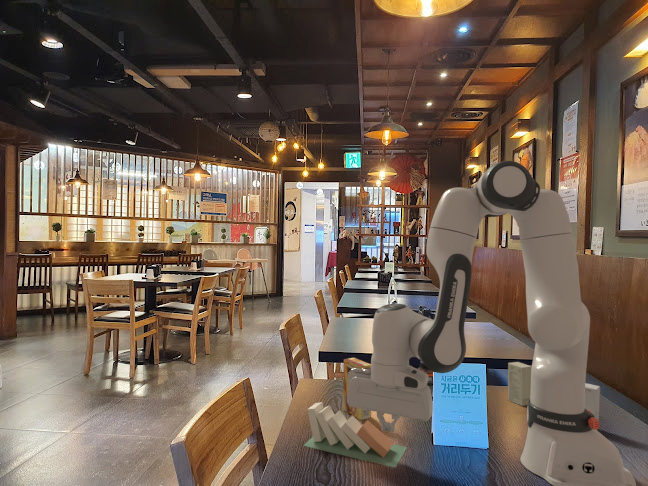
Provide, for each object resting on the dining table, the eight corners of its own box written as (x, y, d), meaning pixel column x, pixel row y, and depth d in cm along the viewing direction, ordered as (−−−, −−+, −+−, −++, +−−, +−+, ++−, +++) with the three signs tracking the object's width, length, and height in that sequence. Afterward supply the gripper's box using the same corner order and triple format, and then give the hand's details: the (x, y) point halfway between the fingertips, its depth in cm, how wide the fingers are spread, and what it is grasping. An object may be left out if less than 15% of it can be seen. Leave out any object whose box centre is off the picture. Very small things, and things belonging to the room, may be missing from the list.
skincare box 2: (570, 426, 127) (572, 384, 127) (574, 422, 130) (576, 380, 130) (595, 433, 123) (596, 389, 123) (599, 428, 126) (600, 386, 126)
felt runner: (407, 448, 111) (407, 447, 111) (395, 468, 101) (395, 467, 101) (321, 429, 121) (321, 428, 121) (303, 446, 111) (303, 445, 111)
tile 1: (393, 442, 110) (367, 420, 112) (388, 451, 105) (360, 427, 108) (389, 449, 110) (363, 426, 113) (383, 457, 105) (356, 433, 108)
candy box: (371, 418, 130) (373, 364, 129) (360, 421, 127) (361, 366, 127) (353, 407, 137) (354, 357, 137) (341, 410, 135) (343, 358, 134)
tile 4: (344, 434, 115) (329, 405, 116) (336, 442, 110) (321, 411, 112) (338, 437, 115) (323, 408, 117) (330, 445, 111) (315, 414, 113)
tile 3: (360, 436, 113) (339, 410, 115) (353, 445, 109) (332, 416, 111) (354, 441, 114) (334, 414, 116) (347, 449, 109) (326, 421, 111)
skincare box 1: (532, 405, 143) (533, 366, 143) (521, 406, 142) (522, 367, 142) (517, 398, 149) (518, 361, 149) (506, 399, 148) (507, 362, 148)
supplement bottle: (423, 391, 153) (424, 358, 153) (438, 396, 149) (439, 362, 148) (412, 395, 149) (413, 361, 149) (428, 400, 145) (429, 365, 144)
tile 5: (329, 433, 116) (322, 402, 117) (321, 441, 112) (314, 408, 113) (322, 434, 117) (315, 402, 118) (313, 441, 113) (307, 409, 113)
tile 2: (376, 439, 111) (352, 415, 114) (370, 448, 107) (345, 422, 109) (371, 445, 112) (347, 420, 114) (365, 453, 107) (340, 428, 110)
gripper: (343, 369, 109) (341, 427, 109) (429, 383, 100) (427, 445, 101) (352, 363, 115) (351, 418, 115) (435, 375, 106) (433, 434, 106)
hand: (387, 431), depth 108 cm, fingers closed
